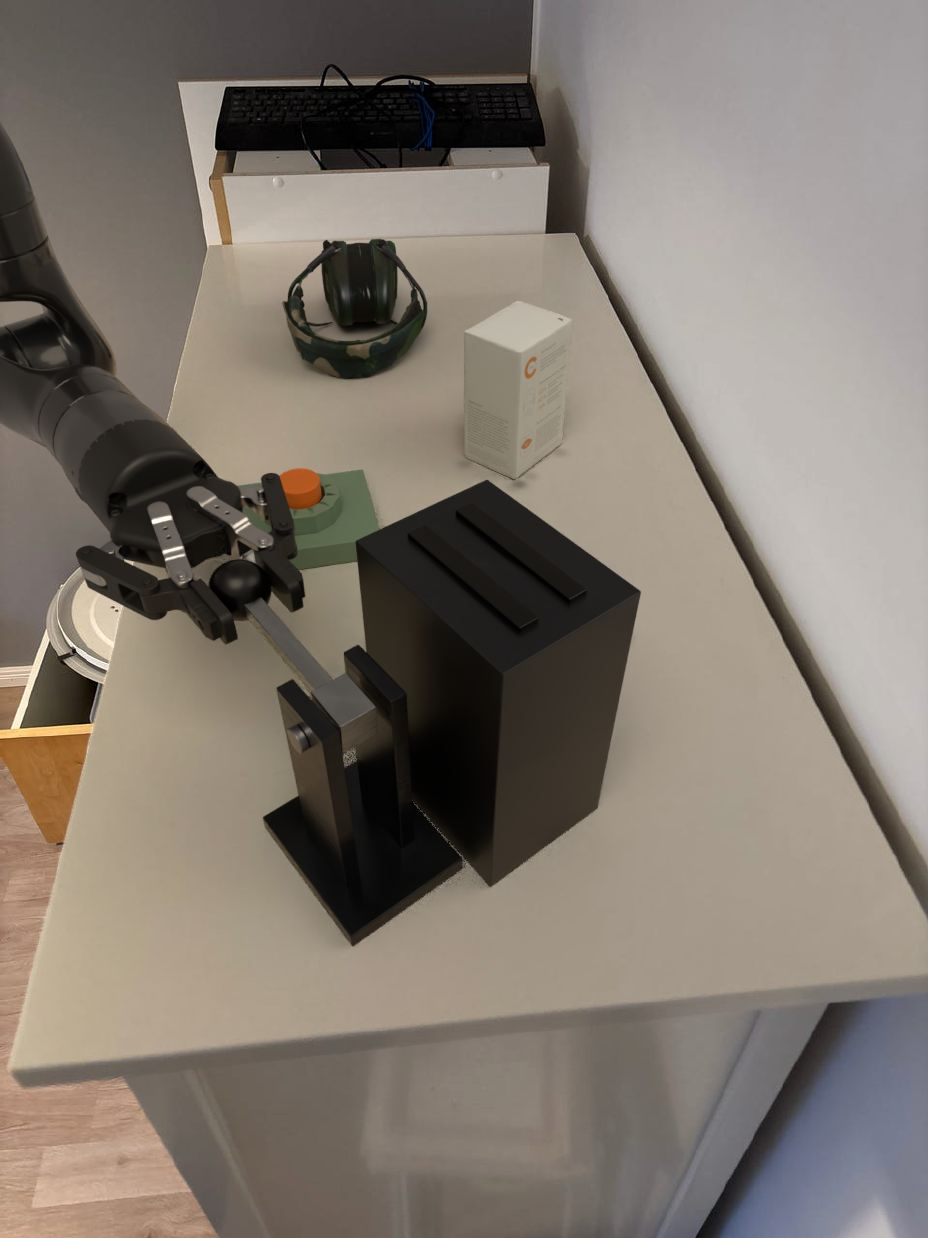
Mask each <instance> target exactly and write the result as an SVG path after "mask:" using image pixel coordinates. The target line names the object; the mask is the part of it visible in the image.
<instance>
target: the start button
mask: <svg viewBox="0 0 928 1238" xmlns="http://www.w3.org/2000/svg"><path fill="white" fill-rule="evenodd" d="M317 473H318V472H316V471H314V470H312V469H308V468H304V467H303V468H302V467H301V468H298V467H297V468H292V469H289V470H286V471H284V472H282V473H281V474H279V476H280V479H281V482H282V486H283V489H284V492H285V495H286V499H287V502H288V505H289V508H290V509H295V510H297V509H304V508H310V507H312V506H314V505H316V504H318V503H319V502H320V500H321V498H322V493H321V485H320V478H319V476H318V474H317Z"/></svg>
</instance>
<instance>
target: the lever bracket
mask: <svg viewBox="0 0 928 1238" xmlns="http://www.w3.org/2000/svg"><path fill="white" fill-rule="evenodd" d="M343 661H344V669H345V673H347V674H348V675H349V676H350V677H351V679H352V680H353V681H354V682H355V683H356V684H357V685H358V686H359V688H360V689H361V690H362V691H363V692H364V693H365V694H366V696H367V697H368V698H369V699H370V700H371V701H372V702H373V703H374V705H375V706H376V713H377V734H376V735H375V736H373V737H371V738H370V739H368V740H366V741H364V742H363V743H361V744H359V745H358V746H356V747H354V749H355V750H354V751H355V757H356V760H355V761H354V762H351V763H349V764H348V765H346V766H345V762H344V761H345V760H344V754H343V753H342V746H341V739H340V732H339V731H338V730H337V729H336V727H335V726H334V725H333V724H332V723H331V722H330V721H329V719H328V718H327V717H326V716H325V715H324V714H323V713H322V711H321V710H320V709H319V708H318V707H317V706H316V705H315V703H314V702H313V701H312V700H311V697H310V696H309V695H308V694H307V693H306V692H305V691H304V689H302V687H301V686H300V685H299V684H298V683H297V681H295V679H294V678H291V679H289V680H287V681H285V682H283V683H282V684H280V685H278V686H276V687H275V689H276V694H277V699H278V703H279V709H280V713H281V718H282V722H283V728H284V733H285V737H286V742H287V747H288V751H289V756H290V760H291V766H292V771H293V775H294V780H295V784H296V785H295V786H296V789H297V794H298V795H297V796H295V797H293V798H292V799H290V800H289V801H287V802H285V803H283V804H282V805H280V806H279V807H277V808H275V809H273V810H271V811H270V812H268V813H267V814H265V815H263V817H262V820H263V824H264V828H265V829H266V830H267V832H268V833H269V834H270V836H271V838H272V839H273V840H274V842H275V843H276V845H278V847H279V848H280V850H281V851H282V852H283V854H284V855H285V856H286V858H287V860H288V861H289V862H290V864H291V866H293V868H294V869H295V870H296V872H297V874H299V875H300V877H301V878H302V880H303V881H304V882H305V884H306V885H307V887H308V888H309V889H310V891H311V893H313V895H314V896H315V898H316V899H317V901H318V902H319V903H320V905H321V906H322V907H323V908H324V910H325V911H326V913H327V914H328V916H329V917H330V918H331V919H332V921H333V922H334V924H335V925H336V927H337V928H338V929H339V930H340V932H341V934H342V935H343V936H344V937H345V939H346V940H347V942H348V943H349V944H350V946H352V947H354V946H356V945H357V944H359V943H360V942H361V941H362V940H364V939H366V938H367V937H368V936H370V935H371V934H373V933H374V932H375V931H377V930H378V929H380V928H381V927H382V926H384V925H385V924H387V923H388V922H390V921H391V920H392V919H393V918H395V917H397V916H398V915H399V914H401V913H402V912H403V911H405V910H406V909H408V908H409V907H411V906H412V905H414V904H415V903H416V902H418V901H420V899H422V898H423V897H424V896H426V895H427V894H429V893H430V892H432V891H433V890H434V889H436V888H438V886H440V885H442V884H443V883H444V882H446V881H447V880H449V879H450V878H451V877H453V876H454V875H456V874H457V873H458V872H460V871H461V870H462V869H463V856H462V855H461V854H460V853H459V852H457V850H456V849H455V847H454V846H453V845H452V844H451V843H450V842H449V841H448V840H447V838H446V837H445V836H444V835H443V834H442V833H441V832H439V829H438V828H437V827H436V826H435V825H434V824H433V823H432V822H431V820H430V819H429V818H428V817H427V816H426V815H425V814H424V813H423V811H422V810H421V809H420V808H419V807H417V805H416V804H415V802H414V801H413V800H412V782H411V764H410V745H409V727H408V708H407V693H406V692H405V691H404V690H403V689H402V688H401V687H400V686H399V685H398V684H397V683H396V682H395V681H394V680H393V679H392V678H391V677H390V676H389V675H388V674H387V673H386V672H385V671H384V670H383V669H382V668H381V667H380V666H379V665H378V664H377V663H376V662H375V661H374V660H373V659H372V657H371V656H370V655H369V654H368V653H367V652H366V649H364V648H363V647H362V646H361V645H360V644H356V645H353V646H352V647H350V648H348V649H346V650H345V651H343Z"/></svg>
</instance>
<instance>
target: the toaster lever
mask: <svg viewBox="0 0 928 1238" xmlns="http://www.w3.org/2000/svg"><path fill="white" fill-rule="evenodd" d="M207 586H208V587H209V588H210V589H211V590H212V591H213V593H214V594H215V595H216V596H217V597H218V598H219V599H220V601H221V602H222V603H223V604H224V605H225V606H226V608H227V609H228V610H229V611H230V613H231V614H232V616H233V619H234V622H247V621H249V622H250V623H251V624H252V625H253V626H254V628H255V629H256V631H258V633H260V635H261V636H262V637H263V638H264V639H265V640H266V642H267V643H268V644H269V645H270V647H271V648H272V649H273V650H274V652H276V654H277V656H278V657H280V659H281V660H282V661H283V662H284V663H285V664H286V666H287V667H288V668H289V670H291V672H292V673H293V674H294V676H296V678H297V679H298V681H300V683H301V684H302V685H303V686H304V687H305V689H307V691H308V692H309V693H310V699H311V700H312V701H313V702H314V703H315V705H316V706H317V707H318V708H319V709H320V710H321V711H322V713H323V714H324V715H325V716H326V717H327V718H328V719H329V721H330V722H331V723H332V724H333V725H334V726H335V727H336V729H337V730H338V731H339V732H340V739H341V746H342V753H343V755H345V754H346V753H348V752H349V751H351V750H353V749H355V747H356V746H358V745H359V744H361V743H363V742H364V741H366V740H368V739H370V738H371V737H373V736H375V735H376V734H377V713H376V706H375V705H374V703H373V702H372V701H371V700H370V699H369V698H368V697H367V696H366V694H365V693H364V692H363V691H362V690H361V689H360V688H359V686H358V685H357V684H356V683H355V682H354V681H353V680H352V679H351V677H350V676H349V675H348V674H347V673H346V672H344V673H342V674H341V675H338V676H337V677H335V678H332V677H331V676H330V675H329V674H328V672H327V671H326V670H325V669H324V668H323V667H322V665H321V664H320V663H319V662H318V661H317V660H316V659H315V657H314V656H313V655H312V654H311V653H310V651H308V649H307V648H306V647H305V645H304V644H303V643H302V642H301V641H300V640H299V638H298V637H296V635H295V634H294V633H293V632H292V631H291V630H290V629H289V627H288V626H287V625H286V624H285V623H284V622H283V620H282V619H281V618H280V617H279V616H278V615H277V614H276V612H275V611H274V610H273V609H272V608H271V607H270V606H269V603H270V601H271V597H272V592H271V583H270V580H269V578H268V576H267V574H266V573H265V571H264V570H263V569H262V568H261V567H260V566H258V565H257V564H255V563H253V562H251V561H248V560H243V559H235V560H230V561H228V560H227V561H224V562H223V563H221V564H220V565H218V566H217V567H216V569H215V570H214V571H213V572H212V573H211V576H210V577H209V579H208V582H207Z"/></svg>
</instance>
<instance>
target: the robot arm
mask: <svg viewBox="0 0 928 1238" xmlns="http://www.w3.org/2000/svg"><path fill="white" fill-rule="evenodd" d="M36 199H37V198H36V196H35V193H34V190H33V187H32V185H31V182H30V179H29V177H28V174H27V172H26V169H25V166H24V164H23V161H22V160H21V158H20V155H19V153H18V150H17V149H16V147H15V145H14V143H13V141H12V140H11V138H10V135H8V132H7V131H6V129H5V127H4V126H3V124H2V122H0V303H12V302H15V303H16V302H17V303H18V302H29V303H30V302H31V303H35V304H39V305H40V306H41V308H42V311H43V313H40V314H37V315H34V316H30V317H27V318H24V319H20V320H17V321H14V322H11V323H10V322H9V323H7V324H4V325H0V425H2V426H3V427H5V428H7V429H8V430H10V431H12V432H14V433H15V434H18V435H20V436H22V437H24V438H26V439H29V440H30V441H32V442H35V443H37V444H38V445H40V446H42V447H44V448H46V449H47V451H48V452H49V453H50V454H51V456H52V457H53V458H54V459H55V460H56V461H57V463H58V464H59V465H60V467H61V468H62V471H63V473H64V474H65V476H66V478H67V481H69V483H70V485H71V486H72V488H73V489H74V492H75V494H76V495H77V497H78V498H79V499H80V500H81V501H82V502H84V503H85V504H86V505H87V506H88V508H89V509H90V510H91V511H92V512H93V514H94V515H95V516H96V517H97V519H98V520H99V521H100V522H101V523H102V525H103V526H104V527H105V528H106V529H107V531H108V532H109V538H110V540H109V541H107V542H106V543H105V544H103V545H102V546H100V548H99V547H97V546H95V545H88V544H87V545H83V546H81V547H79V548H78V549H77V550H76V551H75V557H76V560H77V563H78V565H79V567H80V569H81V573H82V576H83V578H84V581H85V584H86V586H87V588H88V589H90V590H92V591H93V592H96V593H97V594H99V595H101V596H103V597H105V598H107V599H110V600H111V601H113V602H115V603H117V604H119V605H121V606H123V607H124V608H127V609H129V610H131V611H132V612H135V613H136V614H138V615H140V616H142V617H144V618H146V619H148V620H151V621H159V620H162V619H163V618H165V617H166V616H167V614H168V612H172V611H180V612H182V613H183V614H186V615H187V616H188V617H189V619H190V620H191V621H192V623H194V625H195V626H196V627H197V629H198V630H199V631H200V632H201V633H202V634H203V636H204V637H205V638H206V639H209V640H210V641H213V642H214V641H217V640H219V639H220V640H221V642H222V643H223V644H224V645H225V646H227V645H229V644H231V643H233V642H235V641H237V640H239V637H238V632H237V631H238V630H237V628H236V627H237V626H236V623H235V622H236V621H234V619H233V616H232V614H231V613H230V611H229V610H228V609H227V608H226V606H225V605H224V604H223V603H222V602H221V601H220V599H219V598H218V597H217V596H216V595H215V594H214V593H213V591H212V590H211V589H210V588H209V587H208V583H206V581H204V580H203V579H202V577H201V578H198V579H196V578H195V575H194V572H193V569H194V568H196V567H198V566H199V565H201V564H203V563H204V562H206V561H207V560H211V559H215V558H218V557H222V558H223V559H225V560H227V561H230V560H235V559H243V560H248V561H251V562H253V563H255V564H257V565H258V566H260V567H261V568H262V569H263V570H264V571H265V573H266V574H267V576H268V578H269V580H270V583H271V594H273V595H274V596H275V598H277V600H279V602H281V604H282V605H283V606H284V607H285V608H286V609H287V610H288V611H289V612H290V613H291V614H292V613H295V612H297V611H299V610H301V609H303V608H304V598H306V590H305V583H304V578H303V574H302V572H301V570H300V569H299V570H298V569H297V568H296V567H295V566H294V565H293V564H292V563H291V562H290V561H289V560H291V559H294V558H295V557H296V556H297V555H298V550H297V545H296V541H295V533H294V530H295V527H294V521H293V518H292V515H291V511H290V508H289V505H288V502H287V499H286V495H285V492H284V489H283V486H282V482H281V479H280V474H278V473H276V472H267V473H264V474H263V475H261V477H260V483H262V485H259V486H253V487H247V488H241V489H239V488H238V485H237V484H235V483H234V482H232V481H229V480H226V479H223V478H221V477H220V476H218V475H217V474H216V472H215V471H214V470H213V469H212V467H211V466H210V464H208V463H209V462H207V461H206V460H205V459H204V457H202V456H201V455H200V454H199V453H198V452H197V450H195V449H194V448H193V447H192V446H191V445H190V444H189V443H188V442H187V441H186V440H185V438H183V436H181V435H180V434H179V432H177V431H176V430H175V429H174V428H173V427H172V426H171V425H170V424H169V422H167V421H166V420H165V419H164V418H163V417H162V416H161V415H160V414H159V413H157V412H156V411H155V410H154V409H152V408H151V407H149V406H147V404H145V403H143V402H142V401H141V400H140V399H139V398H138V397H137V395H135V394H134V393H133V392H132V391H131V390H130V389H129V388H128V387H127V386H126V385H125V384H124V383H123V382H122V381H121V380H120V379H119V378H117V377H116V376H117V360H116V357H115V354H114V351H113V349H112V346H111V345H110V343H109V341H108V340H107V338H106V335H104V333H103V332H102V330H101V329H100V327H99V326H98V324H97V323H96V321H95V320H94V319H93V318H92V316H91V314H90V313H89V311H87V309H86V307H85V306H84V304H83V303H82V301H81V300H80V299H79V297H78V295H77V294H76V292H75V290H74V288H73V287H72V285H71V283H70V282H69V280H68V278H67V276H66V274H65V272H64V271H63V268H62V266H61V264H60V262H59V260H58V258H57V255H56V254H55V250H54V248H53V246H52V243H51V241H50V237H49V235H48V232H47V229H46V226H45V222H44V219H43V217H42V214H41V211H40V208H39V205H38V202H37V200H36ZM243 508H250V509H252V510H253V511H254V512H255V514H257V515H259V516H261V520H262V521H267V520H269V523H270V527H271V530H272V531H270V532H269V533H266V532H264V531H262V530H261V529H259V528H257V527H256V526H254V525H253V524H251V522H250V520H249V519H248V517H247V516H246V515H245V514H244V513H242V512H243ZM127 561H129V562H133V563H139V564H142V565H147V566H152V567H157V568H161V569H165V573H166V575H167V578H162V579H159V578H158V577H157V576H156V575H153V574H152V573H150V572H148V571H146V570H144V569H142V568H139V567H137V566H135V565H133V564H131V563H128V562H127Z"/></svg>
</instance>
